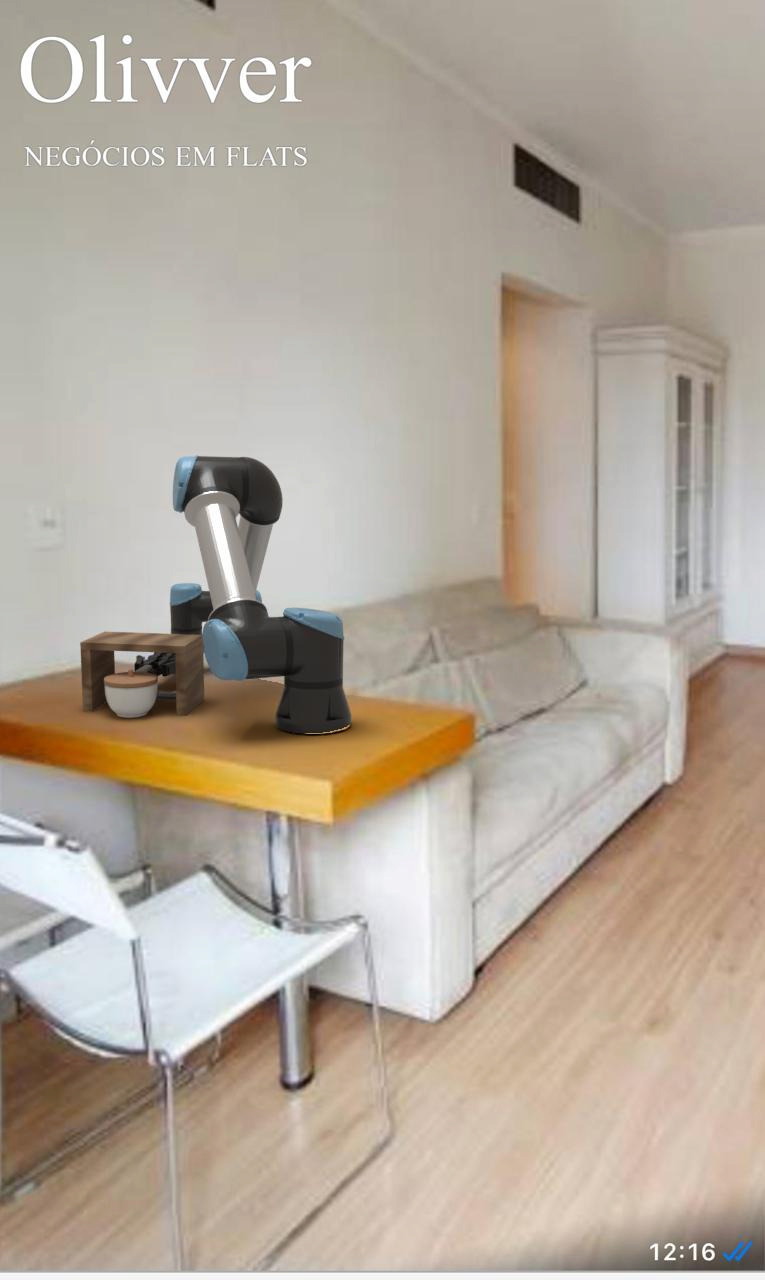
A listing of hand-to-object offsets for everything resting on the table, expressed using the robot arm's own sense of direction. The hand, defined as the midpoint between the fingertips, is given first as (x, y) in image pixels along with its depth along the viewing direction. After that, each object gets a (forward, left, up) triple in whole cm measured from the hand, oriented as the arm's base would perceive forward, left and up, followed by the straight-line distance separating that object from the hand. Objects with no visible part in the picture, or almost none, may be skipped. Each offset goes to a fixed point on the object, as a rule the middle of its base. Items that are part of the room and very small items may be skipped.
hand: (138, 677), depth 202 cm
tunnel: (-1, -2, -6) cm, 7 cm away
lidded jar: (-1, +6, -7) cm, 9 cm away
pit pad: (-1, -10, -6) cm, 12 cm away
